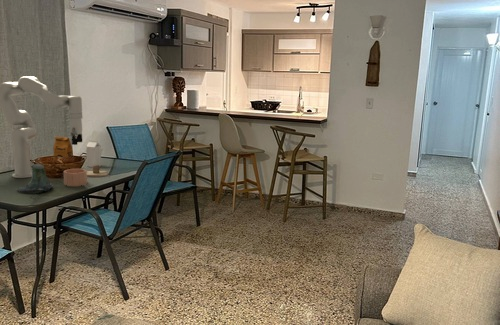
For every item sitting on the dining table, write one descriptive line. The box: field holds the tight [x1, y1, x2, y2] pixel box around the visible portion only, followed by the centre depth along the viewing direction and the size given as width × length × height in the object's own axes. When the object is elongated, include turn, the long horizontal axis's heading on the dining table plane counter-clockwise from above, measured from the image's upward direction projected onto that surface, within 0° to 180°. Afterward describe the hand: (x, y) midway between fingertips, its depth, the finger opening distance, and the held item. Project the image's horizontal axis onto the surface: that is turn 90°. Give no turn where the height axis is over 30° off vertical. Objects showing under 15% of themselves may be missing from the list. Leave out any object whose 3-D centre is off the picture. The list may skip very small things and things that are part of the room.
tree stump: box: [17, 163, 55, 194], centre depth 252 cm, size 18×20×18 cm
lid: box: [86, 165, 109, 178], centre depth 294 cm, size 15×15×6 cm
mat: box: [87, 172, 111, 179], centre depth 294 cm, size 16×16×1 cm
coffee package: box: [52, 136, 74, 157], centre depth 309 cm, size 10×12×22 cm
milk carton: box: [85, 139, 102, 168], centre depth 318 cm, size 7×7×19 cm
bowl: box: [63, 168, 88, 187], centre depth 270 cm, size 13×13×8 cm
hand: (77, 143), depth 276 cm, fingers open, 9 cm apart
